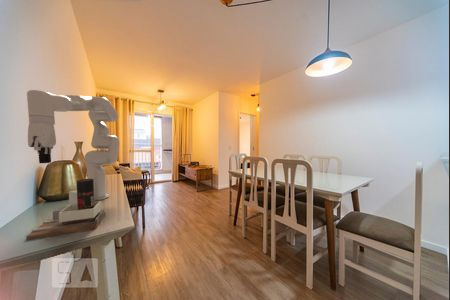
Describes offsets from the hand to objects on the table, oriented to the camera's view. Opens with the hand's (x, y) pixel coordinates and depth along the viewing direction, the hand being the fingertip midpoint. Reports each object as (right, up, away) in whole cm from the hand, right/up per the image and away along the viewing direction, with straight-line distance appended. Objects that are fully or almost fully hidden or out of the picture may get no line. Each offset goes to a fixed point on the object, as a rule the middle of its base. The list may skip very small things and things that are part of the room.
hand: (45, 162), depth 73 cm
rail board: (+10, -29, +2) cm, 30 cm away
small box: (-2, -28, +21) cm, 35 cm away
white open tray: (+12, -26, +3) cm, 29 cm away
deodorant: (+15, -23, +4) cm, 28 cm away
